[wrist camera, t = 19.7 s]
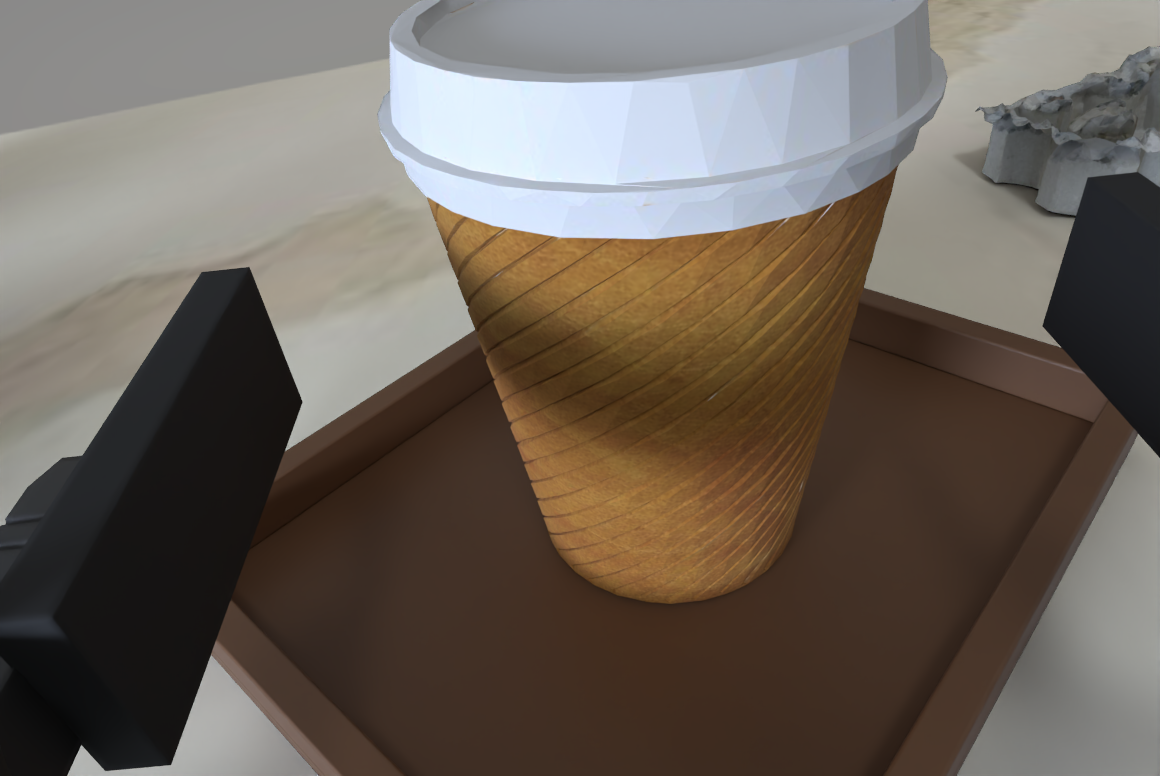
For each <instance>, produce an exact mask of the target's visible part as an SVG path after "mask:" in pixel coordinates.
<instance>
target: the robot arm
mask: <svg viewBox="0 0 1160 776" xmlns="http://www.w3.org/2000/svg"><path fill="white" fill-rule="evenodd" d="M1043 327H1044V328H1045V329H1046V331H1047V332H1048V333H1049V334H1050V335H1051V336H1052V337H1053V338H1054V340H1055V341H1056V342H1057V343H1058V344H1059V345H1060V346H1061V347H1062V349H1063V350H1064V351H1065V352H1066V353H1067V354H1068V355H1069V356H1070V358H1071V359H1072V360H1073V361H1074V362H1075V363H1076V364H1077V365H1078V366H1079V368H1080V369H1081V370H1082V371H1083V372H1084V373H1085V374H1086V375H1087V377H1088V378H1089V379H1090V380H1091V381H1092V382H1093V383H1094V384H1095V386H1096V387H1097V388H1098V389H1099V390H1100V391H1101V392H1102V393H1103V395H1104V396H1105V397H1106V398H1107V399H1108V400H1109V401H1110V402H1111V403H1112V405H1113V406H1114V407H1115V408H1116V409H1117V410H1118V411H1119V412H1120V414H1121V415H1122V416H1123V417H1124V418H1125V419H1126V420H1127V421H1128V423H1129V424H1130V425H1131V426H1132V427H1133V428H1134V429H1135V430H1136V432H1137V433H1138V434H1139V435H1140V436H1141V437H1142V438H1143V439H1144V441H1145V442H1146V443H1147V444H1148V445H1149V446H1150V447H1151V448H1152V449H1153V451H1154V452H1155V453H1156V454H1157V455H1158V456H1159V457H1160V187H1159V186H1158V185H1156V184H1155V183H1153V182H1152V181H1150V180H1149V179H1147V178H1146V177H1145V176H1143V175H1142V174H1140V173H1139V172H1133V173H1124V174H1115V175H1105V176H1096V177H1088V178H1087V181H1086V185H1085V188H1084V191H1083V195H1082V198H1081V201H1080V204H1079V208H1078V211H1077V214H1076V218H1075V221H1074V224H1073V227H1072V231H1071V234H1070V237H1069V241H1068V244H1067V247H1066V250H1065V254H1064V257H1063V260H1062V264H1061V267H1060V270H1059V273H1058V277H1057V280H1056V283H1055V287H1054V290H1053V293H1052V296H1051V300H1050V303H1049V306H1048V310H1047V313H1046V316H1045V319H1044V323H1043ZM301 405H302V400H301V397H300V394H299V392H298V389H297V387H296V384H295V382H294V379H293V377H292V374H291V372H290V369H289V367H288V364H287V361H286V359H285V356H284V354H283V351H282V349H281V346H280V344H279V341H278V339H277V336H276V334H275V331H274V328H273V326H272V323H271V321H270V318H269V316H268V313H267V311H266V308H265V306H264V303H263V301H262V298H261V295H260V293H259V290H258V288H257V285H256V283H255V280H254V278H253V275H252V273H251V270H250V268H249V267H246V268H237V269H227V270H218V271H209V272H202V273H201V274H200V276H199V277H198V279H197V280H196V282H195V283H194V285H193V286H192V288H191V290H190V291H189V293H188V294H187V296H186V297H185V299H184V300H183V302H182V303H181V305H180V306H179V308H178V310H177V311H176V313H175V314H174V316H173V317H172V319H171V320H170V322H169V323H168V325H167V326H166V328H165V330H164V331H163V333H162V334H161V336H160V337H159V339H158V340H157V342H156V343H155V345H154V346H153V348H152V350H151V351H150V353H149V354H148V356H147V357H146V359H145V360H144V362H143V363H142V365H141V366H140V368H139V370H138V371H137V373H136V374H135V376H134V377H133V379H132V380H131V382H130V383H129V385H128V386H127V388H126V390H125V391H124V393H123V394H122V396H121V397H120V399H119V400H118V402H117V403H116V405H115V406H114V408H113V410H112V411H111V413H110V414H109V416H108V417H107V419H106V420H105V422H104V423H103V425H102V427H101V428H100V430H99V431H98V433H97V434H96V436H95V437H94V439H93V440H92V442H91V443H90V445H89V447H88V448H87V450H86V451H85V453H84V454H83V456H76V457H66V458H62V459H60V460H59V461H58V462H57V463H56V464H54V465H53V466H52V467H51V468H50V469H49V470H47V471H46V472H45V473H44V474H43V475H41V476H40V477H39V478H38V479H37V480H36V481H34V482H33V483H32V484H31V485H30V486H28V487H27V489H26V490H25V492H24V493H23V495H22V496H21V497H20V499H19V500H18V502H17V503H16V505H15V506H14V507H13V509H12V510H11V512H10V513H9V515H8V516H7V517H6V519H5V520H6V525H2V526H0V776H67V775H68V772H69V770H70V768H71V766H72V764H73V762H74V759H75V757H76V755H77V753H78V751H79V749H80V746H81V745H82V746H83V747H84V748H85V749H86V750H87V751H88V752H89V754H90V755H91V756H92V757H93V758H94V759H95V760H96V761H97V762H98V763H99V764H100V766H101V767H102V768H103V769H104V770H105V771H110V770H121V769H132V768H143V767H153V766H164V765H171V763H172V761H173V758H174V755H175V752H176V750H177V747H178V744H179V741H180V739H181V736H182V733H183V730H184V728H185V725H186V722H187V719H188V716H189V714H190V711H191V708H192V705H193V703H194V700H195V697H196V694H197V692H198V689H199V686H200V683H201V681H202V678H203V675H204V672H205V670H206V667H207V664H208V661H209V659H210V656H211V653H212V650H213V648H214V645H215V642H216V639H217V637H218V634H219V631H220V628H221V625H222V623H223V620H224V617H225V614H226V612H227V609H228V606H229V603H230V601H231V598H232V595H233V592H234V590H235V587H236V584H237V581H238V579H239V576H240V573H241V570H242V568H243V565H244V562H245V559H246V557H247V554H248V551H249V548H250V545H251V543H252V540H253V537H254V534H255V532H256V529H257V526H258V523H259V521H260V518H261V515H262V512H263V510H264V507H265V504H266V501H267V499H268V496H269V493H270V490H271V488H272V485H273V482H274V479H275V477H276V474H277V471H278V468H279V465H280V463H281V460H282V457H283V454H284V452H285V449H286V446H287V443H288V441H289V438H290V435H291V432H292V430H293V427H294V424H295V421H296V419H297V416H298V413H299V410H300V408H301Z"/></svg>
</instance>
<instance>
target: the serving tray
mask: <svg viewBox="0 0 1160 776" xmlns="http://www.w3.org/2000/svg"><path fill="white" fill-rule="evenodd" d="M477 335H478V332H477V331H476V330H474V331H473V332H471V333H470V334H468V335H467V336H465V337H463V338H462V339H460V340H459V341H457V342H456V343H454V344H453V345H451V346H449V347H448V348H446V349H445V350H443V351H442V352H440V353H438V354H437V355H435V356H434V357H432V358H431V359H429V360H427V361H426V362H424V363H423V364H421V365H420V366H418V367H417V368H415V369H413V370H412V371H410V372H409V373H407V374H406V375H404V376H402V377H401V378H399V379H398V380H396V381H395V382H393V383H392V384H390V385H388V386H387V387H385V388H384V389H382V390H381V391H379V392H377V393H376V394H374V395H373V396H371V397H370V398H368V399H366V400H365V401H363V402H362V403H360V404H359V405H357V406H356V407H354V408H352V409H351V410H349V411H348V412H346V413H345V414H343V415H341V416H340V417H338V418H337V419H335V420H334V421H332V422H331V423H329V424H327V425H326V426H324V427H323V428H321V429H320V430H318V431H316V432H315V433H313V434H312V435H310V436H309V437H307V438H306V439H304V440H302V441H301V442H299V443H298V444H296V445H295V446H293V447H291V448H290V449H288V450H287V451H285V452H284V454H283V457H282V460H281V463H280V465H279V468H278V471H277V474H276V477H275V479H274V482H273V485H272V488H271V490H270V493H269V496H268V499H267V501H266V504H265V507H264V510H263V512H262V515H261V518H260V521H259V523H258V526H257V529H256V532H255V534H254V537H253V540H252V543H251V545H250V548H249V551H248V554H247V557H246V559H245V562H244V565H243V568H242V570H241V573H240V576H239V579H238V581H237V584H236V587H235V590H234V592H233V595H232V598H231V601H230V603H229V606H228V609H227V612H226V614H225V617H224V620H223V623H222V625H221V628H220V631H219V634H218V637H217V639H216V642H215V645H214V648H213V650H212V653H211V655H212V656H213V657H214V658H215V659H216V660H217V662H218V663H219V664H220V665H221V666H222V667H223V668H224V669H225V671H226V672H227V673H228V674H229V675H230V676H231V677H232V678H233V680H234V681H235V682H236V683H237V684H238V685H239V686H240V687H241V688H242V690H243V691H244V692H245V693H246V694H247V695H248V696H249V697H250V699H251V700H252V701H253V702H254V703H255V704H256V705H257V706H258V708H259V709H260V710H261V711H262V712H263V713H264V714H265V715H266V717H267V718H268V719H269V720H270V721H271V722H272V723H273V724H274V725H275V727H276V728H277V729H278V730H279V731H280V732H281V733H282V734H283V736H284V737H285V738H286V739H287V740H288V741H289V742H290V743H291V745H292V746H293V747H294V748H295V749H296V750H297V751H298V752H299V754H300V755H301V756H302V757H303V758H304V759H305V760H306V761H307V762H308V764H309V765H310V766H311V767H312V768H313V769H314V770H315V771H316V773H317V774H318V775H319V776H957V774H958V772H959V770H960V768H961V766H962V764H963V763H964V761H965V759H966V757H967V755H968V753H969V751H970V749H971V748H972V746H973V744H974V742H975V740H976V738H977V736H978V734H979V733H980V731H981V729H982V727H983V725H984V723H985V721H986V719H987V718H988V716H989V714H990V712H991V710H992V708H993V706H994V704H995V703H996V701H997V699H998V697H999V695H1000V693H1001V691H1002V689H1003V688H1004V686H1005V684H1006V682H1007V680H1008V678H1009V676H1010V674H1011V673H1012V671H1013V669H1014V667H1015V665H1016V663H1017V661H1018V659H1019V658H1020V656H1021V654H1022V652H1023V650H1024V648H1025V646H1026V644H1027V643H1028V641H1029V639H1030V637H1031V635H1032V633H1033V631H1034V629H1035V628H1036V626H1037V624H1038V622H1039V620H1040V618H1041V616H1042V614H1043V613H1044V611H1045V609H1046V607H1047V605H1048V603H1049V601H1050V599H1051V598H1052V596H1053V594H1054V592H1055V590H1056V588H1057V586H1058V584H1059V583H1060V581H1061V579H1062V577H1063V575H1064V573H1065V571H1066V569H1067V568H1068V566H1069V564H1070V562H1071V560H1072V558H1073V556H1074V554H1075V553H1076V551H1077V549H1078V547H1079V545H1080V543H1081V541H1082V539H1083V537H1084V536H1085V534H1086V532H1087V530H1088V528H1089V526H1090V524H1091V522H1092V521H1093V519H1094V517H1095V515H1096V513H1097V511H1098V509H1099V507H1100V506H1101V504H1102V502H1103V500H1104V498H1105V496H1106V494H1107V492H1108V491H1109V489H1110V487H1111V485H1112V483H1113V481H1114V479H1115V477H1116V476H1117V474H1118V472H1119V470H1120V468H1121V466H1122V464H1123V462H1124V461H1125V459H1126V457H1127V455H1128V453H1129V451H1130V449H1131V447H1132V446H1133V444H1134V441H1135V439H1136V437H1137V434H1138V433H1137V432H1136V430H1135V429H1134V428H1133V427H1132V426H1131V425H1130V424H1129V423H1128V421H1127V420H1126V419H1125V418H1124V417H1123V416H1122V415H1121V414H1120V412H1119V411H1118V410H1117V409H1116V408H1115V407H1114V406H1113V405H1112V403H1111V402H1110V401H1109V400H1108V399H1107V398H1106V397H1105V396H1104V395H1103V393H1102V392H1101V391H1100V390H1099V389H1098V388H1097V387H1096V386H1095V384H1094V383H1093V382H1092V381H1091V380H1090V379H1089V378H1088V377H1087V375H1086V374H1085V373H1084V372H1083V371H1082V370H1081V369H1080V368H1079V366H1078V365H1077V364H1076V363H1075V362H1074V361H1073V360H1072V359H1071V358H1070V356H1069V355H1068V354H1067V353H1066V352H1065V351H1064V350H1063V349H1062V348H1060V347H1057V346H1054V345H1050V344H1047V343H1044V342H1041V341H1037V340H1034V339H1031V338H1027V337H1024V336H1021V335H1017V334H1014V333H1011V332H1008V331H1004V330H1001V329H998V328H994V327H991V326H988V325H984V324H981V323H978V322H975V321H971V320H968V319H965V318H961V317H958V316H955V315H951V314H948V313H945V312H942V311H938V310H935V309H932V308H928V307H925V306H922V305H918V304H915V303H912V302H909V301H905V300H902V299H899V298H895V297H892V296H889V295H885V294H882V293H879V292H876V291H872V290H869V289H866V288H863V291H862V294H861V297H860V300H859V303H858V307H857V312H856V316H855V319H854V322H853V325H852V327H851V331H850V335H849V339H848V343H847V346H846V349H845V352H844V355H843V358H842V361H841V365H840V369H839V372H838V375H837V378H836V382H835V386H834V390H833V394H832V397H831V399H830V404H829V408H828V412H827V415H826V418H825V421H824V424H823V427H822V431H821V435H820V438H819V441H818V444H817V447H816V451H815V455H814V458H813V461H812V464H811V468H810V472H809V476H808V479H807V482H806V485H805V488H804V492H803V496H802V499H801V502H800V505H799V509H798V513H797V516H796V520H795V524H794V528H793V532H792V536H791V538H790V540H789V542H788V544H787V546H786V548H785V549H784V551H783V553H782V555H781V556H780V557H779V558H778V559H777V560H776V561H775V562H774V564H773V565H772V566H771V567H770V568H769V569H768V570H767V571H766V572H764V573H763V574H762V575H760V576H759V577H757V578H756V579H755V580H753V581H752V582H750V583H749V584H747V585H745V586H743V587H741V588H739V589H737V590H734V591H732V592H730V593H727V594H724V595H720V596H717V597H713V598H710V599H706V600H703V601H693V602H684V603H675V604H665V603H651V602H645V601H640V600H636V599H631V598H627V597H622V596H618V595H615V594H613V593H611V592H609V591H606V590H604V589H602V588H599V587H597V586H595V585H593V584H592V583H590V582H589V581H587V580H586V579H585V578H583V577H582V576H580V575H579V574H577V573H576V572H575V571H574V570H573V569H572V568H571V567H570V566H569V565H568V564H567V563H566V562H565V561H564V560H563V559H562V557H561V556H560V555H559V553H558V551H557V550H556V548H555V546H554V544H553V543H552V540H551V538H550V535H549V532H548V529H547V526H546V523H545V520H544V517H545V515H543V514H542V512H541V509H540V507H539V504H538V501H537V500H538V499H539V498H537V497H536V495H535V492H534V490H533V487H532V485H531V483H532V481H533V480H530V478H529V476H528V473H527V471H526V468H525V466H524V464H525V463H526V462H525V461H523V459H522V456H521V454H520V451H519V449H518V446H517V445H518V443H519V442H516V440H515V437H514V435H513V433H512V430H511V428H510V427H511V424H512V422H509V420H508V418H507V415H506V413H505V411H504V408H503V406H502V403H503V402H504V401H501V399H500V396H499V394H498V391H497V389H496V386H495V384H494V381H495V379H494V378H493V376H492V374H491V372H490V369H489V367H488V364H487V362H486V359H487V356H485V354H484V352H483V349H482V347H481V344H480V342H479V340H478V337H477Z"/></svg>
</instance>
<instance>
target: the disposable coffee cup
mask: <svg viewBox="0 0 1160 776" xmlns="http://www.w3.org/2000/svg"><path fill="white" fill-rule="evenodd" d="M947 78H948V77H947V73H946V70H945V66H944V62H943V59H942V58H941V57H940V56H938V55H937V54H936V53H935V52H934V51H933V50H932V49H931V48H930V32H929V14H928V0H421V1H419V2H417V3H416V4H415V5H413V6H411V7H410V8H409V9H407V10H406V11H404V12H403V13H401V14H400V15H399V17H398V18H397V19H396V21H395V22H394V24H393V25H392V26H391V28H390V91H389V92H388V93H387V94H386V95H385V96H384V98H383V101H382V103H381V106H380V109H379V111H378V114H377V115H378V120H379V126H380V131H381V134H382V136H383V137H384V139H385V141H386V143H387V145H388V147H389V148H390V150H391V152H392V154H393V156H394V157H395V158H397V159H398V160H400V161H401V162H403V163H404V165H405V169H406V172H407V175H408V176H409V177H410V179H411V180H412V181H413V182H414V183H415V185H416V186H417V187H418V188H419V189H420V190H421V192H422V193H423V194H424V195H425V196H427V199H428V201H429V204H430V207H431V210H432V213H433V216H434V219H435V221H436V222H437V227H438V230H439V232H440V235H441V237H442V240H443V242H444V245H445V247H446V250H447V251H448V254H447V255H448V257H449V260H450V262H451V265H452V267H453V270H454V272H455V275H456V277H457V279H458V280H459V281H458V285H459V287H460V290H461V292H462V295H463V297H464V300H465V302H466V305H467V306H468V307H469V308H468V312H469V315H470V317H471V320H472V322H473V325H474V327H475V330H476V331H477V332H478V335H477V337H478V340H479V342H480V344H481V347H482V349H483V352H484V354H485V356H487V359H486V362H487V364H488V367H489V369H490V372H491V374H492V376H493V378H494V379H495V381H494V384H495V386H496V389H497V391H498V394H499V396H500V399H501V401H504V402H503V403H502V406H503V408H504V411H505V413H506V415H507V418H508V420H509V422H512V424H511V427H510V428H511V430H512V433H513V435H514V437H515V440H516V442H519V443H518V445H517V446H518V449H519V451H520V454H521V456H522V459H523V461H525V462H526V463H525V464H524V466H525V468H526V471H527V473H528V476H529V478H530V480H533V481H532V483H531V485H532V487H533V490H534V492H535V495H536V497H537V498H539V499H538V500H537V501H538V504H539V507H540V509H541V512H542V514H543V515H545V517H544V520H545V523H546V526H547V529H548V532H549V535H550V538H551V540H552V543H553V544H554V546H555V548H556V550H557V551H558V553H559V555H560V556H561V557H562V559H563V560H564V561H565V562H566V563H567V564H568V565H569V566H570V567H571V568H572V569H573V570H574V571H575V572H576V573H577V574H579V575H580V576H582V577H583V578H585V579H586V580H587V581H589V582H590V583H592V584H593V585H595V586H597V587H599V588H602V589H604V590H606V591H609V592H611V593H613V594H615V595H618V596H622V597H627V598H631V599H636V600H640V601H645V602H651V603H665V604H675V603H684V602H693V601H703V600H706V599H710V598H713V597H717V596H720V595H724V594H727V593H730V592H732V591H734V590H737V589H739V588H741V587H743V586H745V585H747V584H749V583H750V582H752V581H753V580H755V579H756V578H757V577H759V576H760V575H762V574H763V573H764V572H766V571H767V570H768V569H769V568H770V567H771V566H772V565H773V564H774V562H775V561H776V560H777V559H778V558H779V557H780V556H781V555H782V553H783V551H784V549H785V548H786V546H787V544H788V542H789V540H790V538H791V536H792V532H793V528H794V524H795V520H796V516H797V513H798V509H799V505H800V502H801V499H802V496H803V492H804V488H805V485H806V482H807V479H808V476H809V472H810V468H811V464H812V461H813V458H814V455H815V451H816V447H817V444H818V441H819V438H820V435H821V431H822V427H823V424H824V421H825V418H826V415H827V412H828V408H829V404H830V399H831V397H832V394H833V390H834V386H835V382H836V378H837V375H838V372H839V369H840V365H841V361H842V358H843V355H844V352H845V349H846V346H847V343H848V339H849V335H850V331H851V327H852V325H853V322H854V319H855V316H856V312H857V307H858V303H859V300H860V297H861V294H862V291H863V288H864V284H865V280H866V276H867V272H868V269H869V266H870V263H871V261H872V257H873V253H874V249H875V244H876V241H877V238H878V235H879V233H880V230H881V227H882V222H883V218H884V213H885V210H886V207H887V204H888V201H889V198H890V196H891V192H892V188H893V183H894V179H895V174H896V171H897V167H898V164H899V163H900V162H901V161H902V160H903V159H904V158H905V157H906V156H907V155H908V154H909V153H911V152H912V151H913V149H914V146H915V142H916V139H917V136H918V132H919V129H920V128H921V127H922V126H923V125H924V124H926V123H927V122H928V121H929V120H931V119H932V118H933V116H934V114H935V112H936V110H937V108H938V106H939V104H940V102H941V100H942V98H943V95H944V91H945V87H946V82H947Z"/></svg>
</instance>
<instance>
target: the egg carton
mask: <svg viewBox="0 0 1160 776" xmlns="http://www.w3.org/2000/svg"><path fill="white" fill-rule="evenodd" d="M978 110H982V111H983V112H984V113H985V114H984V119H985V121H987V122H989V123H992V124H993V127H992V132H991V137H990V143H989V148H988V151H987V154H986V160H985V164H984V167H983V170H982V172H983V173H984V174H985V175H986V176H988V177H990V178H991V179H992V180H993V181H994V182H995V183H1001V182H1005V183H1015V184H1021V185H1025V186H1032V187H1034V188H1036V189H1039V191H1038V195H1037V198H1036V200H1035V202H1036V203H1037V204H1039V205H1040V206H1042V207H1043V208H1045V209H1047V210H1048V211H1051V212H1055V213H1061V214H1068V215H1074V216H1076V214H1077V211H1078V208H1079V204H1080V201H1081V198H1082V195H1083V191H1084V188H1085V185H1086V181H1087V178H1088V177H1096V176H1105V175H1115V174H1124V173H1133V172H1139V173H1140V174H1142V175H1143V176H1145V177H1146V178H1147V179H1149V180H1150V181H1152V182H1153V183H1155V184H1156V185H1158V186H1159V187H1160V46H1158V47H1147V48H1146V49H1144V50H1142V51H1140V52H1137V53H1136V54H1134V55H1129V56H1128V57H1127V58H1126V60H1125V61H1124V62H1123V64H1122V65H1121V67H1120V69H1118V70H1116V71H1114V72H1111V73H1101V74H1099V73H1091V74H1088V75H1087V76H1086V77H1085V78H1084V79H1083V80H1081V81H1080V82H1078V83H1075V84H1072V85H1068V86H1065V87H1063V88H1060V89H1058V90H1041V91H1039V92H1037V93H1035V94H1032V95H1030V96H1027V97H1025V98H1023V99H1020V100H1018V101H1017V102H1015V103H1014V104H1012V105H1011V106H1009V105H1006V106H1004V105H1003V104H1000V105H999V106H996V107H985V108H982V107H979V108H978V109H977V110H976V111H978ZM976 111H975V112H976Z"/></svg>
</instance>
